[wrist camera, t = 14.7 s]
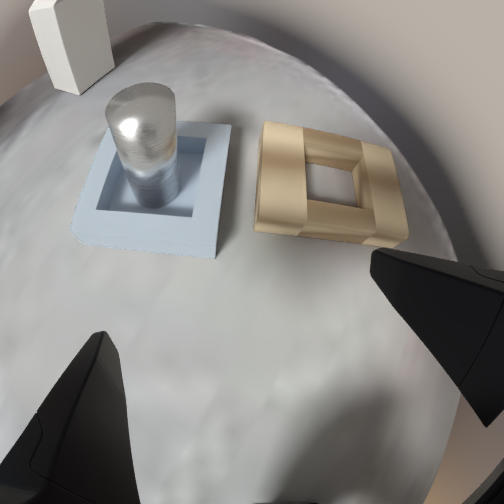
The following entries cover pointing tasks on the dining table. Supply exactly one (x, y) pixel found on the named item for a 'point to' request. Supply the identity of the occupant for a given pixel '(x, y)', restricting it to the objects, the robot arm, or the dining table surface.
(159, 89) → the steel axle
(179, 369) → the dining table surface
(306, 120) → the dining table surface
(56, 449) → the robot arm
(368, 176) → the tan rectangular frame
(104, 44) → the milk carton
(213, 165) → the seat block
